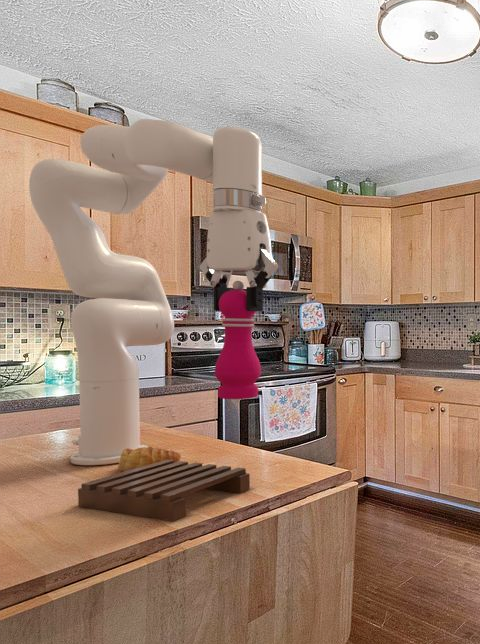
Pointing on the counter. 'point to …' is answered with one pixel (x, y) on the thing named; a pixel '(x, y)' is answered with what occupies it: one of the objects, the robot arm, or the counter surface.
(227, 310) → the pepper mill
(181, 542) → the counter surface
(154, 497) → the rack
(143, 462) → the pastry
